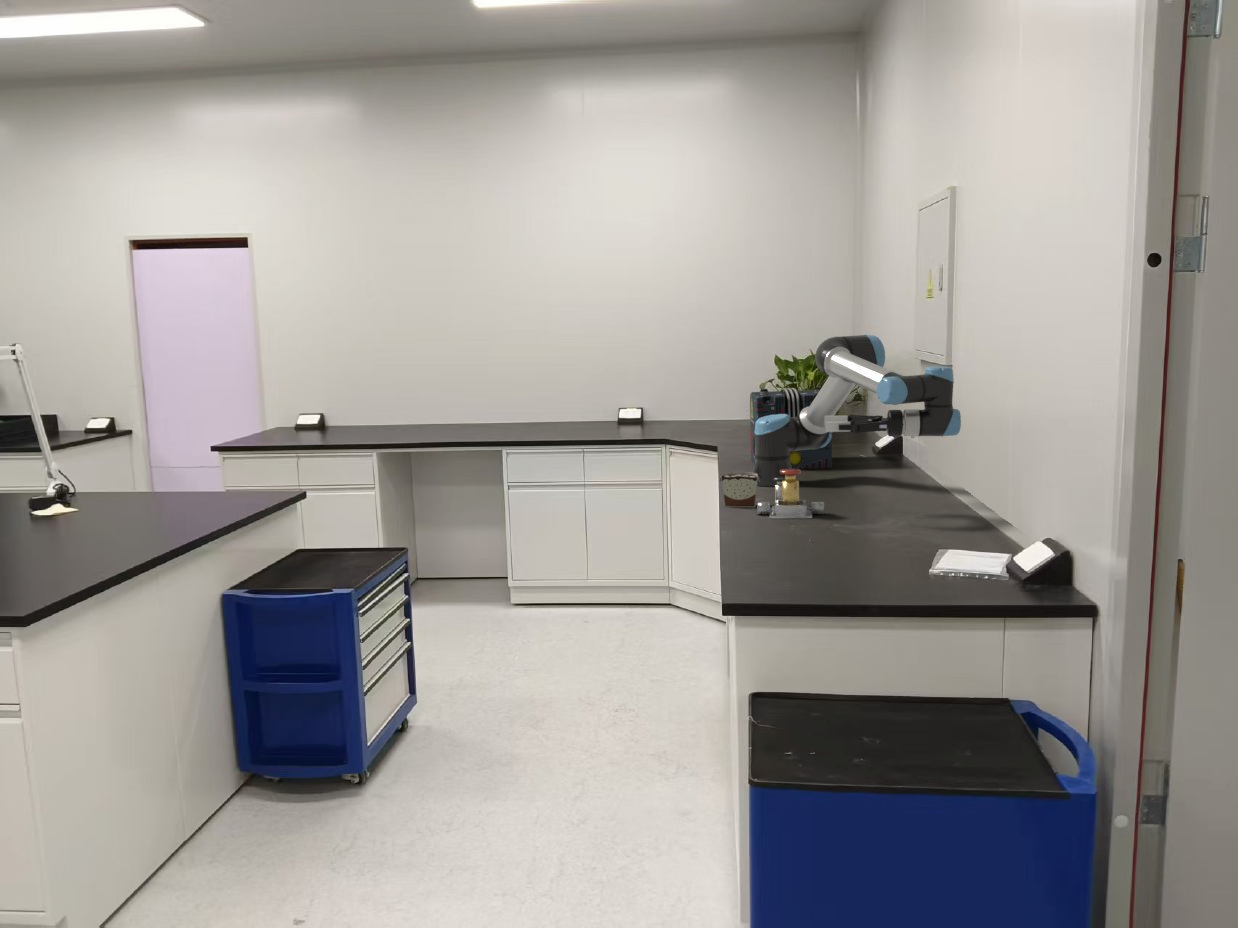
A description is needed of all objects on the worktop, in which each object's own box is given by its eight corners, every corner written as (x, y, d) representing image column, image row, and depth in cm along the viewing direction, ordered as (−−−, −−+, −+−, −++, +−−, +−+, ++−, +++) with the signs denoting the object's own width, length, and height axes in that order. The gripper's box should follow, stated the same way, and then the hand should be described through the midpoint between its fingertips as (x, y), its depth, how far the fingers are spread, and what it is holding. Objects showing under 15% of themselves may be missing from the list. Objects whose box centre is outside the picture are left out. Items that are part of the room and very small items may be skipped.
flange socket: (758, 510, 292) (757, 498, 292) (823, 509, 289) (823, 498, 288) (756, 518, 280) (756, 506, 280) (824, 518, 277) (824, 505, 277)
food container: (762, 503, 302) (762, 471, 301) (760, 507, 296) (759, 475, 295) (723, 503, 305) (722, 471, 304) (719, 506, 300) (719, 474, 298)
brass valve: (780, 509, 288) (779, 468, 286) (801, 509, 287) (800, 468, 285) (780, 513, 282) (779, 472, 280) (801, 513, 281) (800, 471, 279)
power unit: (750, 460, 392) (749, 385, 388) (819, 457, 391) (819, 383, 386) (758, 471, 364) (756, 390, 360) (832, 468, 363) (831, 388, 359)
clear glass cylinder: (774, 504, 300) (773, 476, 299) (787, 504, 299) (786, 476, 298) (773, 506, 296) (773, 479, 295) (787, 506, 295) (786, 478, 294)
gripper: (907, 442, 263) (827, 443, 267) (897, 430, 287) (823, 430, 291) (907, 415, 262) (827, 416, 266) (897, 404, 286) (824, 405, 290)
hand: (825, 423), depth 278 cm, fingers open, 13 cm apart
